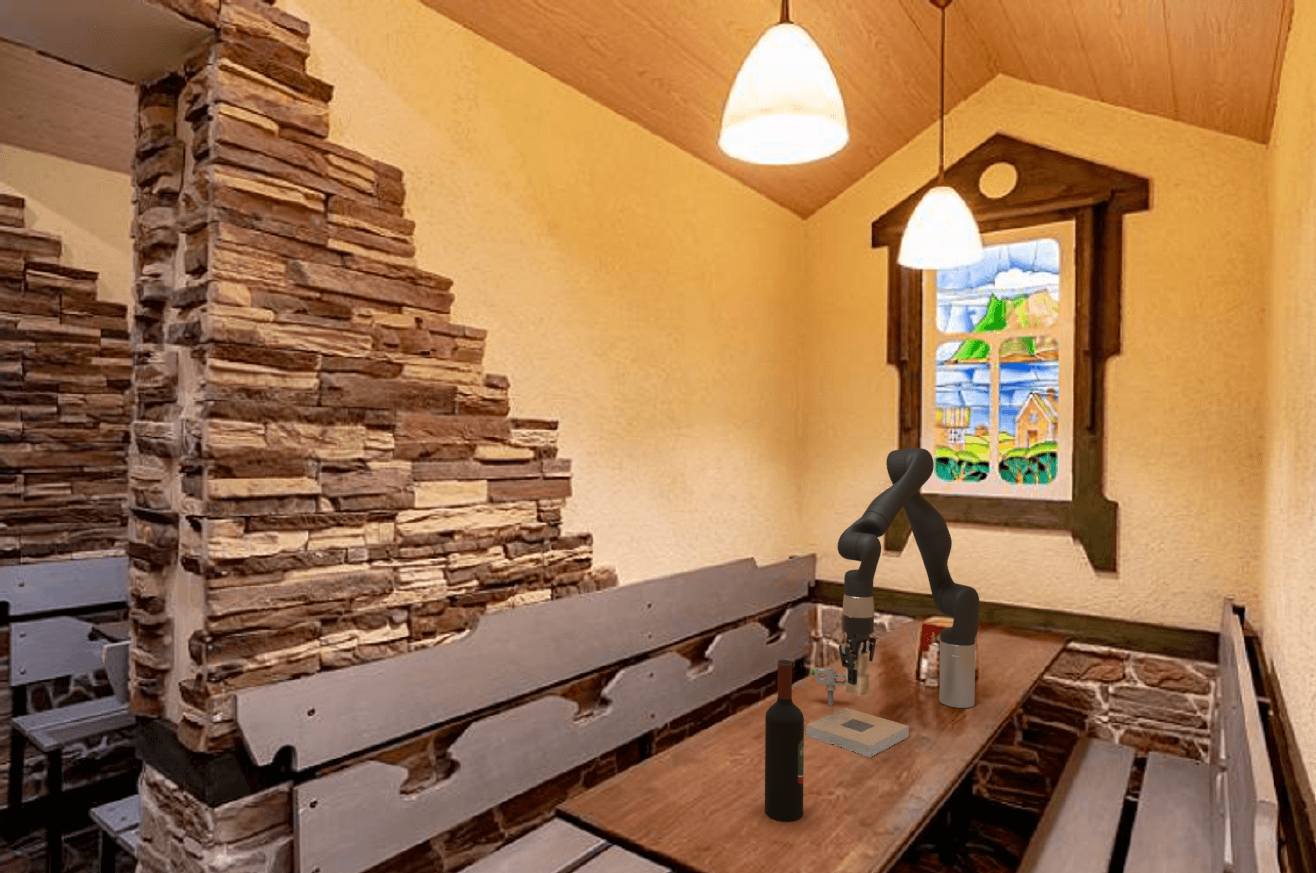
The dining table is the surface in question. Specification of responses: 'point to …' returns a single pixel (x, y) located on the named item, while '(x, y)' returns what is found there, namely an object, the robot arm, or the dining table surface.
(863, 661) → the wooden block
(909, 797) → the dining table surface
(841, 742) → the square slotted board
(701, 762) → the dining table surface
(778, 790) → the wine bottle
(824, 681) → the mechanical component
